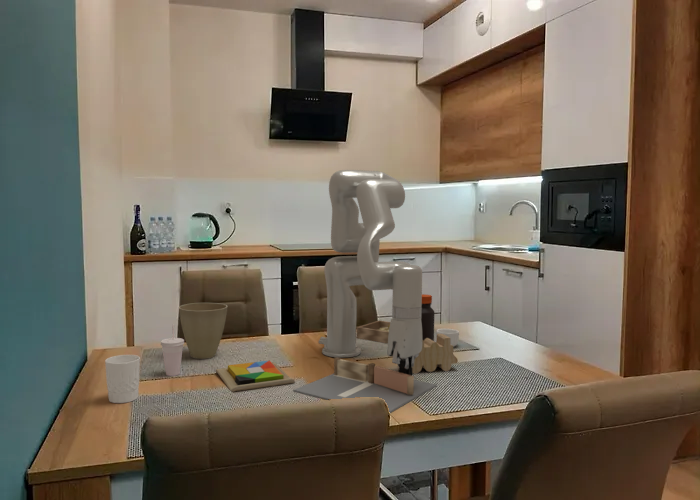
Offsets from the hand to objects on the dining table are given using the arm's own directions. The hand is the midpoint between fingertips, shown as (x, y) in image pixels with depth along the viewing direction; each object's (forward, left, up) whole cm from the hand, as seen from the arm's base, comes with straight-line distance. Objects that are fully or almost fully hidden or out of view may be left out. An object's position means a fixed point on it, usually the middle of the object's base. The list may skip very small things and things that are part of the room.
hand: (405, 381), depth 145 cm
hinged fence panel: (-2, -2, -1) cm, 4 cm away
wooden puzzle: (-39, -16, -3) cm, 42 cm away
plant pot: (-68, -9, -2) cm, 68 cm away
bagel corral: (-35, +48, -2) cm, 59 cm away
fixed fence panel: (-16, -1, -2) cm, 16 cm away
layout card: (-9, -5, -2) cm, 10 cm away
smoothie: (-60, -27, -2) cm, 66 cm away
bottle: (-11, +31, -2) cm, 33 cm away
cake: (-33, +48, -3) cm, 58 cm away
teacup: (-12, +50, -3) cm, 51 cm away
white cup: (-53, -47, -2) cm, 71 cm away
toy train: (-4, +20, -3) cm, 21 cm away
